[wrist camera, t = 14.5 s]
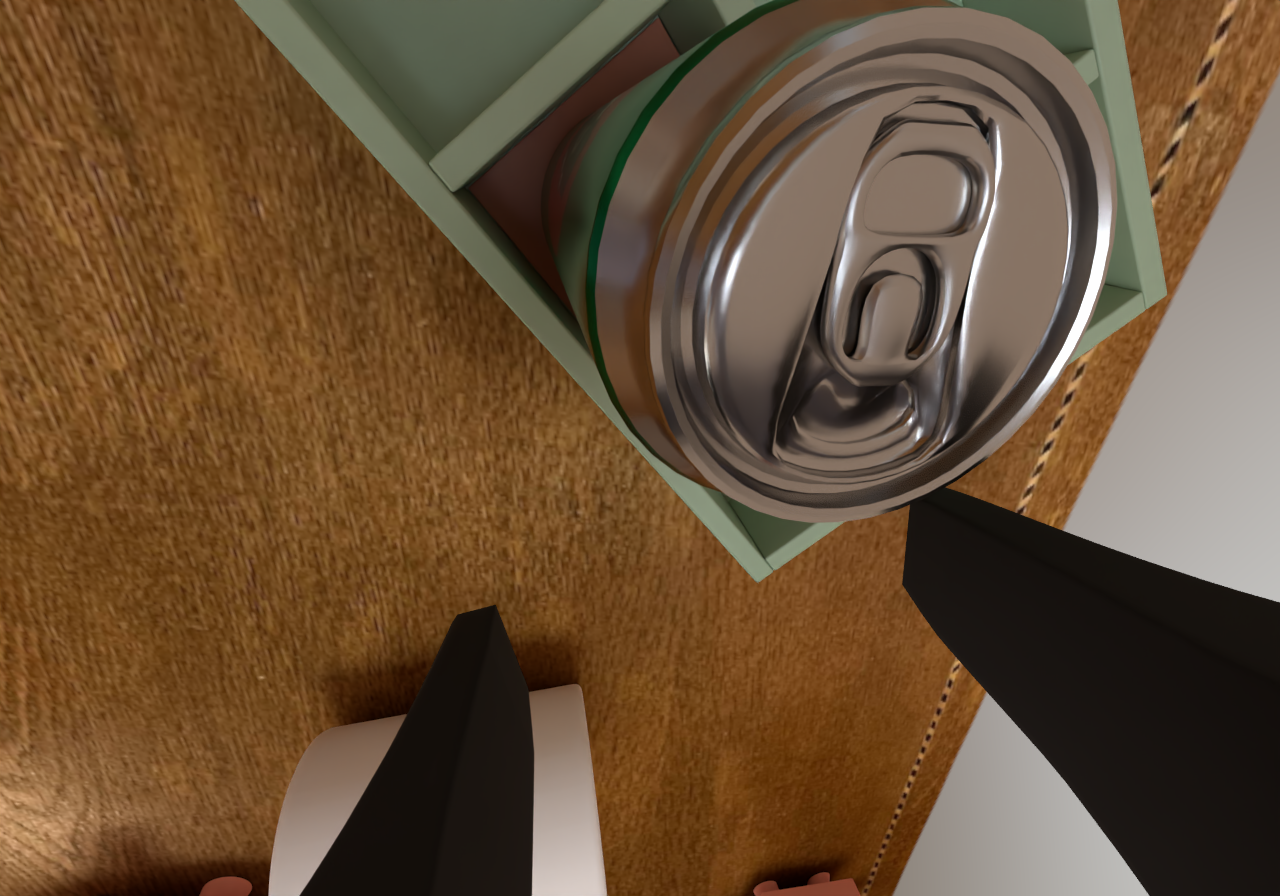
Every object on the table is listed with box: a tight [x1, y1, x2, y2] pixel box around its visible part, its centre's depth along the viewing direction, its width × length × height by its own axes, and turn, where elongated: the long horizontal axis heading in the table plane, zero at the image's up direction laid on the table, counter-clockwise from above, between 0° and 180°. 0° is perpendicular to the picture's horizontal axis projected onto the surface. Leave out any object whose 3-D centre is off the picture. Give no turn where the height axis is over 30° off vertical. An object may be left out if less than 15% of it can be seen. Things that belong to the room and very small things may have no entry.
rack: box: [234, 0, 1167, 582], centre depth 14 cm, size 15×22×4 cm
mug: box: [268, 684, 607, 896], centre depth 22 cm, size 12×10×8 cm
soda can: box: [541, 0, 1117, 523], centre depth 10 cm, size 5×5×12 cm
